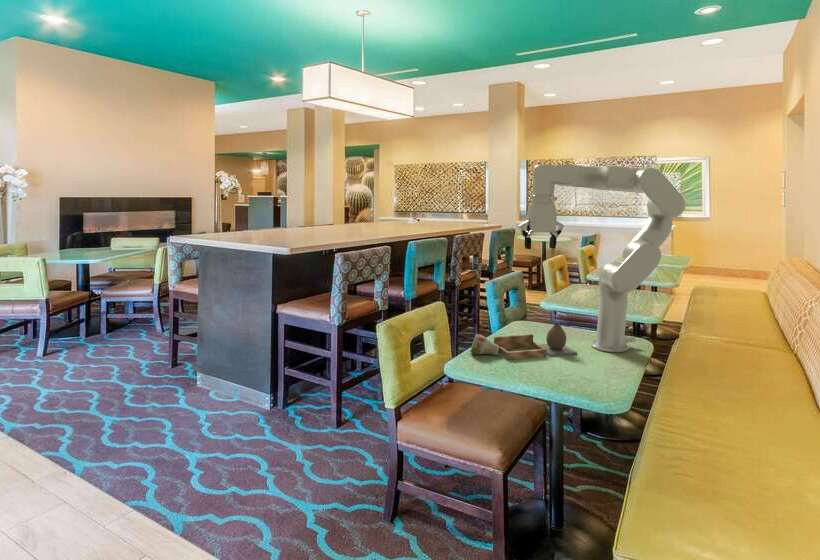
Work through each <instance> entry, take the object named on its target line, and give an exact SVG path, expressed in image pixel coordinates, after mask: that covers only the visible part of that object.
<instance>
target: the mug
mask: <svg viewBox="0 0 820 560" xmlns="http://www.w3.org/2000/svg"><path fill="white" fill-rule="evenodd" d="M498 351H499V346H498V345H497V344H494V342H492V341H490V340H489V339H488V338H487V337H486V336H484V335H482V334H480V333H476V334H475V336H474V339H473V342H472V345H471V349H470V353H472V354H474V355H487V354H488V355H493V356H497V355H498Z"/></svg>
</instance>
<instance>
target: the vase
mask: <svg viewBox="0 0 820 560" xmlns="http://www.w3.org/2000/svg"><path fill="white" fill-rule="evenodd" d="M546 344H548V346H549V347H550V348H551V349H554V350H561V349H562V348H563V347H564V346H566V344H567V333H566V332H565V331H564V329H563V328H562V325H561V324H559V323H554V324H553V326H552V327H551V328H550V329H549V330H548V331H547V334H546Z"/></svg>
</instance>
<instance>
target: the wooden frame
mask: <svg viewBox="0 0 820 560" xmlns="http://www.w3.org/2000/svg"><path fill="white" fill-rule="evenodd" d="M493 343H494V344H497V345H498V346H499V351H498V353H497V355H499V356H501V357H503V359H505V360H506V361H510V360H522V359H534V358H535V359H536V358H546V357H547V356H548V355H547V349H545V348H543V347H542V346H540V344H538V343H536V342H535V341H534V334H532V333H527V334H516V335H500V336H494V337H493ZM527 349H528V350H527ZM513 350H516V351H513Z"/></svg>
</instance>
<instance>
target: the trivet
mask: <svg viewBox="0 0 820 560" xmlns="http://www.w3.org/2000/svg"><path fill="white" fill-rule="evenodd" d="M539 345H540V346H542V347H543V348H545V349H547V356H548V357H557V356H568V355H569V356H570V355H578V351H576V350H575V349H573V348H571V347H569V346H567V345H565V346H564V347H563V348H562V349H561V350H554V349H551V348H550V347H549V346H548V344H547V343H544V344H543V343H540V344H539Z"/></svg>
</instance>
